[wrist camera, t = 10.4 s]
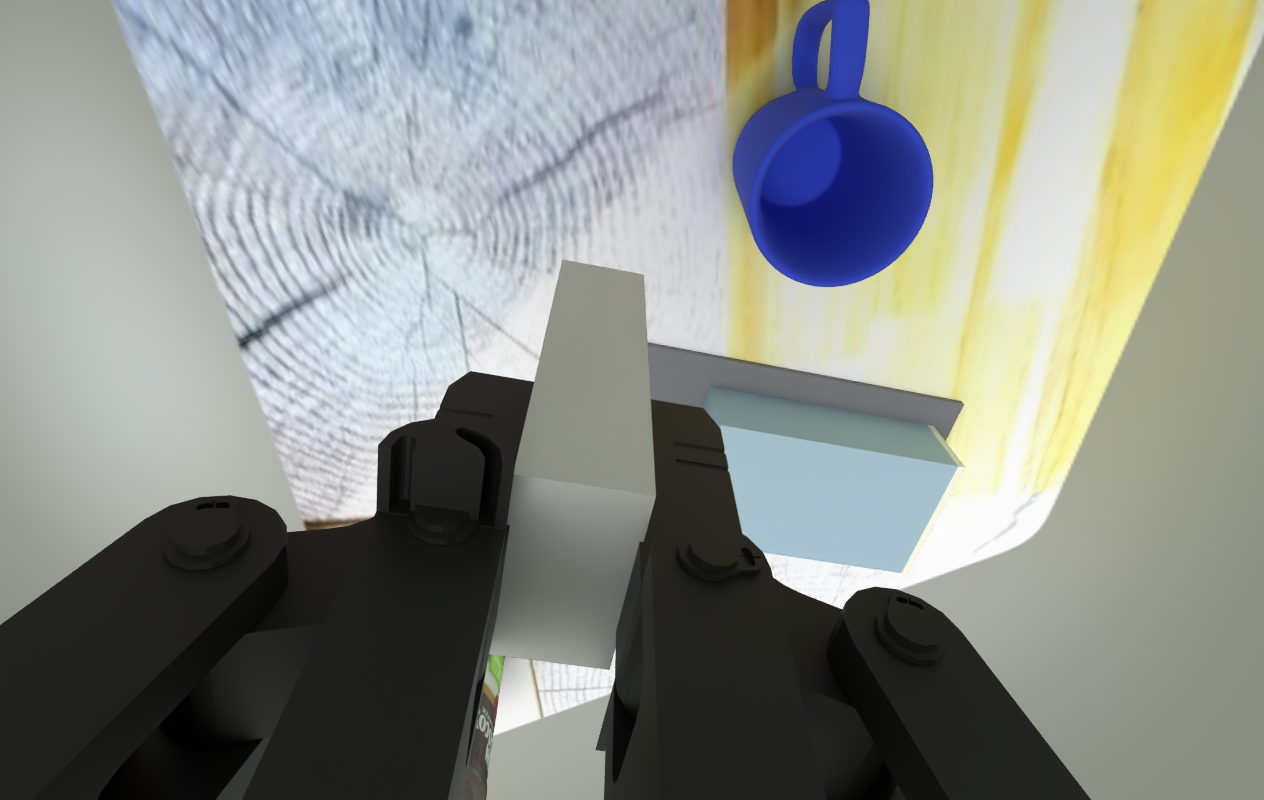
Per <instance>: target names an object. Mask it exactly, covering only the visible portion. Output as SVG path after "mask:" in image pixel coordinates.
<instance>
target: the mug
mask: <svg viewBox="0 0 1264 800" xmlns="http://www.w3.org/2000/svg"><path fill="white" fill-rule="evenodd" d="M869 13H870V5H869V1H868V0H825V1H822V2H820V3H818V4H816V5H814V6H813V7H811V8H810V9H809V10H808V11H807V12H806V13H805V14H804V15H803V17H802V18H801V20H800V22H799V24H798V26H797V29H796V33H795V38H794V44H793V55H792V74H793V81H794V84H795V87H796V88H797V91H796V92H793V93H791V94H788V95H785V96H782V97H780V98H777V99H775V100H773V101H771V102H769V103H768V104H766V105H765V106H763V107H762V108H761V109H760V110H758V111H757V112H756V113H755V114H754V115H753V116H752V117H751V119H750V120H749V121H748V122H747V124H746V125H745V127H744V128H743V130H742V132H741V134H740V136H739V138H738V141H737V144H736V147H735V151H734V157H733V175H734V181H735V185H736V188H737V191H738V194H739V197H740V200H741V203H742V206H743V208H744V211H745V214H746V217H747V220H748V223H749V226H750V229H751V231H752V234H753V237H754V240H755V242H756V244H757V246H758V248H759V250H760V251H761V253H762V254H763V256H764V257H765V258H766V259H767V261H768V262H769V263H770V264H771V265H772V266H773V267H774V268H775V269H777V270H778V271H779V272H781V273H782V274H784V275H785V276H787V277H789V278H791V279H793V280H795V281H797V282H800V283H803V284H807V285H812V286H819V287H836V286H844V285H848V284H852V283H856V282H859V281H862V280H864V279H866V278H869V277H871V276H873V275H875V274H876V273H878V272H880V271H882V270H883V269H885V268H886V267H887V266H889V265H890V264H891V263H892V262H894V261H895V260H896V259H897V258H898V257H899V256H900V255H901V254H902V253H903V252H904V251H905V250H906V249H907V248H908V247H909V245H910V244H911V243H912V241H913V240H914V239H915V237H916V236H917V234H918V232H919V231H920V229H921V227H922V225H923V223H924V220H925V218H926V216H927V213H928V210H929V207H930V203H931V198H932V192H933V169H932V163H931V158H930V155H929V152H928V149H927V147H926V145H925V142H924V141H923V139H922V137H921V135H920V134H919V132H918V131H917V130H916V128H915V127H914V126H913V125H912V124H911V123H910V122H909V121H908V120H907V119H906V118H905V117H903V116H902V115H900V114H899V113H897V112H896V111H894V110H892V109H890V108H888V107H886V106H883V105H880V104H877V103H874V102H871V101H868V100H865V99H863V98H861V97H860V95H859V88H860V84H861V80H862V76H863V70H864V65H865V58H866V49H867V39H868V29H869ZM831 19H832V33H831V49H830V65H829V78H828V84H827V88H826V90H821V89H820V88H819V87H818V85H817V62H818V52H819V45H820V41H821V37H822V33H823V31H824V29H825V26H826V25H827V23H828V22H829V21H830V20H831Z"/></svg>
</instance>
